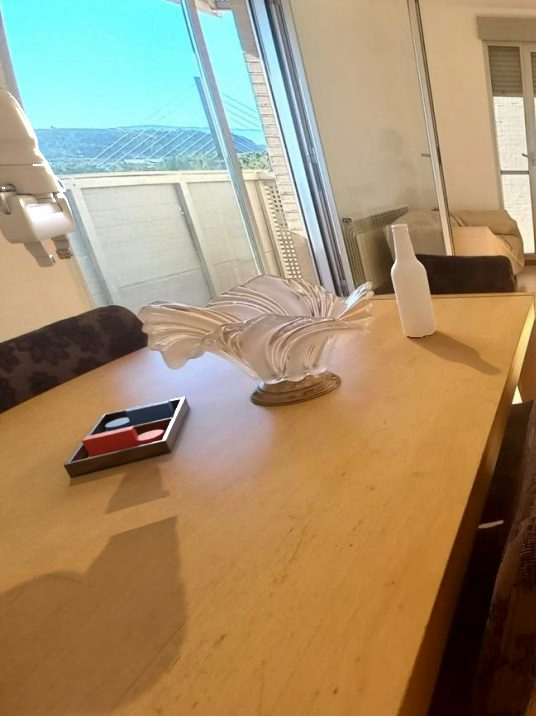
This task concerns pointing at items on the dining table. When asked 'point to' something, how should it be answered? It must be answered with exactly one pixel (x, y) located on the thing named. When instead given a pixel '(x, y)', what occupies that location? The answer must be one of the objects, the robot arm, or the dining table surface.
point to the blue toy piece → (143, 415)
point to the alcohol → (411, 287)
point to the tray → (171, 426)
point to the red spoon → (119, 440)
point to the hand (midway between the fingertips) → (58, 262)
